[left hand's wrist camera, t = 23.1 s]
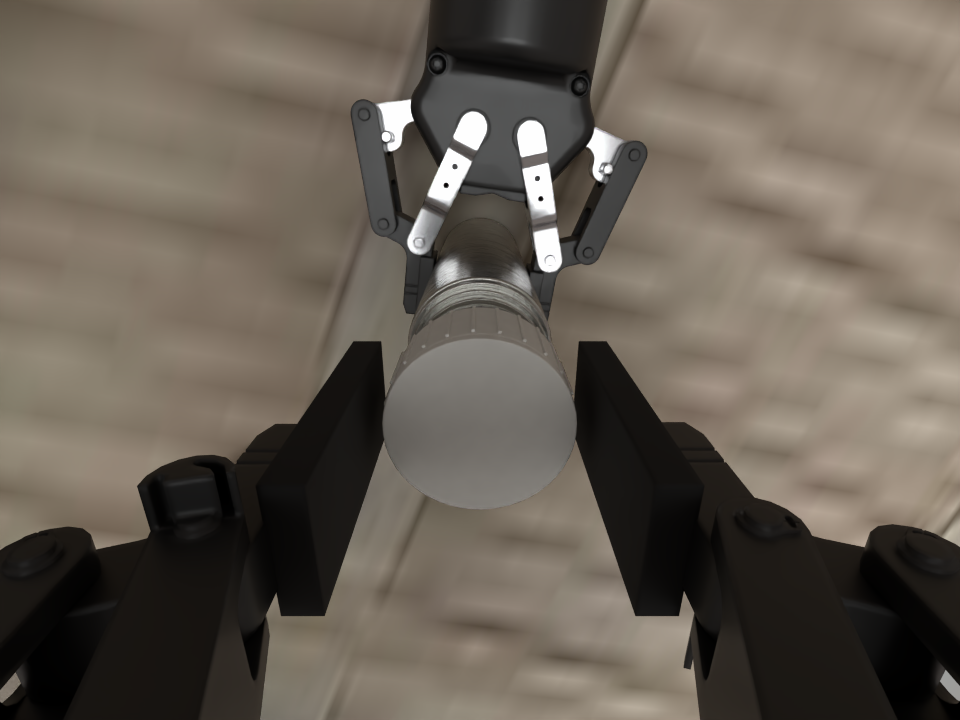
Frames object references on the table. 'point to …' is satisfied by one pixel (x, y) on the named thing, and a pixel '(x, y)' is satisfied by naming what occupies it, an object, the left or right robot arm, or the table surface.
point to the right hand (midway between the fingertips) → (474, 327)
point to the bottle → (479, 277)
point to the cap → (479, 410)
